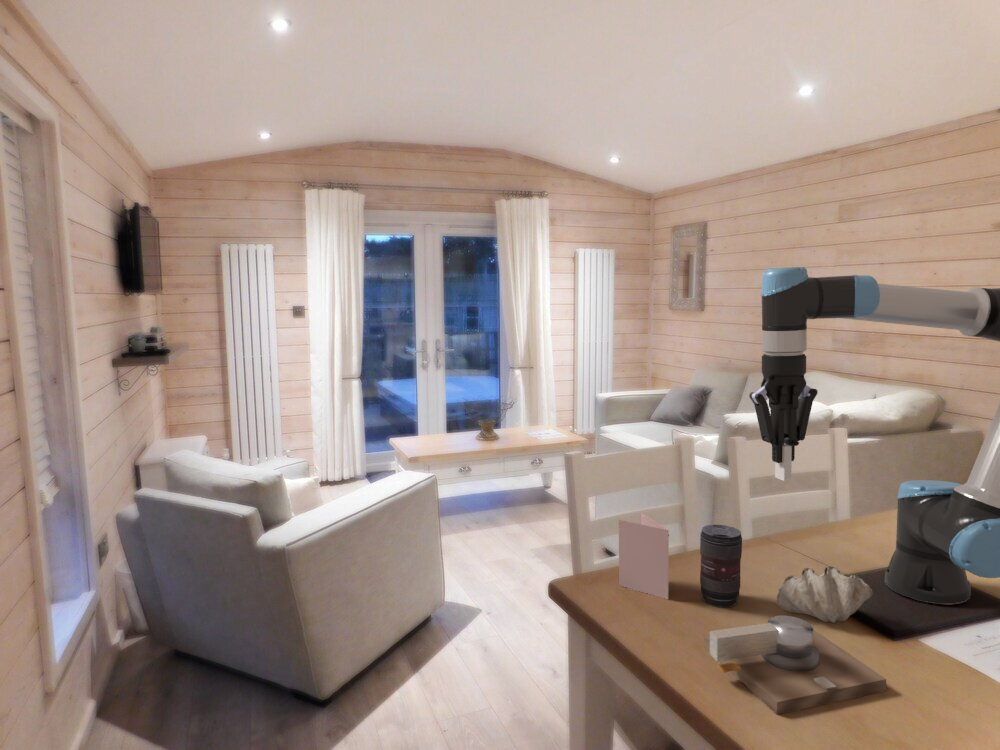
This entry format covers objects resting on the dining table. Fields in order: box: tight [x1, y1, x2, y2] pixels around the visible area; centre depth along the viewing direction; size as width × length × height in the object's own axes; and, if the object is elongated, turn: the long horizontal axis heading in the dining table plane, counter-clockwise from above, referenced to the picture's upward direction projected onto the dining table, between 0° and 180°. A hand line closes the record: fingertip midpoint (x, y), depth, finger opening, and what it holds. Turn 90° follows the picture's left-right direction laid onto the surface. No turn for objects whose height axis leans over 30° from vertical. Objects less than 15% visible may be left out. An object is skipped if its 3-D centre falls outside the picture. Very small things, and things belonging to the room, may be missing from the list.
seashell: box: [776, 565, 874, 624], centre depth 128 cm, size 10×15×10 cm
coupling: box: [709, 615, 814, 662], centre depth 110 cm, size 18×7×4 cm, turn 101°
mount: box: [703, 628, 887, 715], centre depth 111 cm, size 23×20×4 cm
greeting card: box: [618, 512, 670, 600], centre depth 141 cm, size 11×7×15 cm, turn 17°
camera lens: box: [699, 524, 743, 608], centre depth 136 cm, size 8×8×15 cm
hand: (783, 478), depth 124 cm, fingers closed
